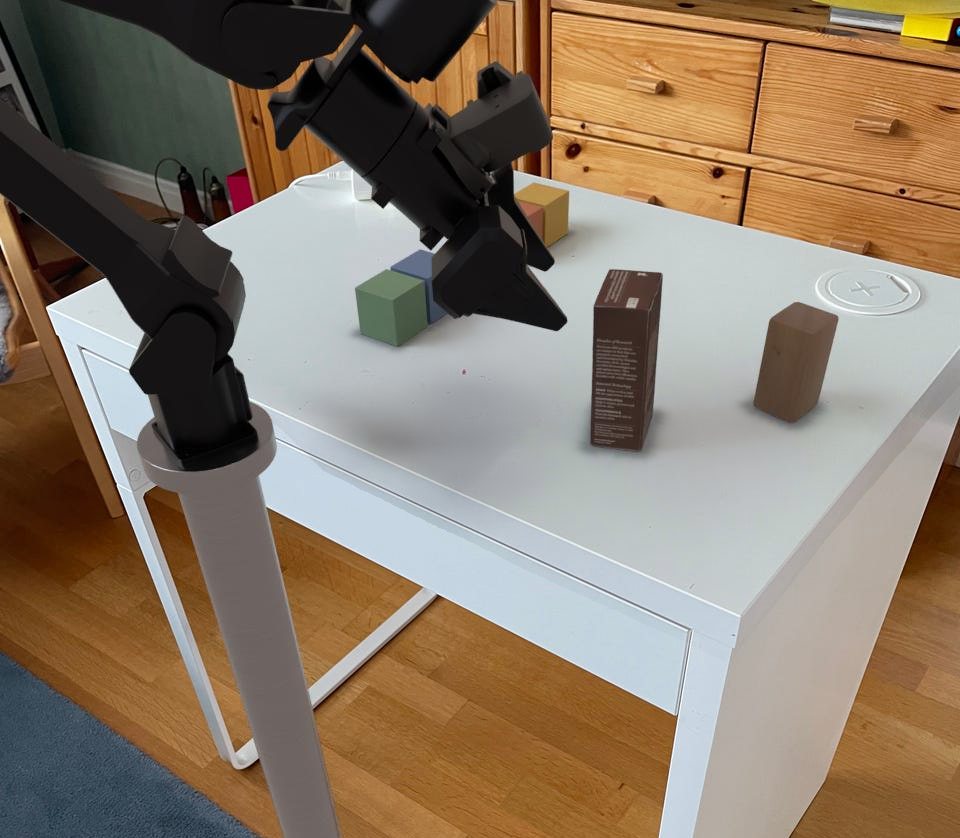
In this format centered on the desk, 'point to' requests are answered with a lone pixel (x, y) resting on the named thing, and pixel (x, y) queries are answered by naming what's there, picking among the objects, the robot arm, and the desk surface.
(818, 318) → the wooden block
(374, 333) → the block line
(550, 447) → the desk surface
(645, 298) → the box
